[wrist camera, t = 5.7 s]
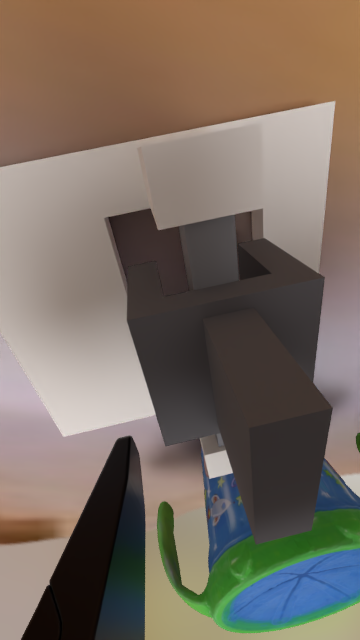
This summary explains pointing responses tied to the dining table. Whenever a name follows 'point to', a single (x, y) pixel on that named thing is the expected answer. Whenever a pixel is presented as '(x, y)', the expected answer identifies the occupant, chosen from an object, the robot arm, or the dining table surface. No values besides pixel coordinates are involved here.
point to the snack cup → (272, 559)
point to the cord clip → (242, 377)
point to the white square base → (168, 211)
